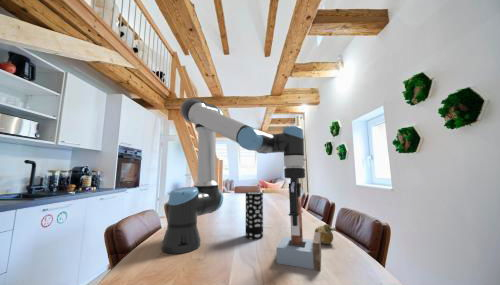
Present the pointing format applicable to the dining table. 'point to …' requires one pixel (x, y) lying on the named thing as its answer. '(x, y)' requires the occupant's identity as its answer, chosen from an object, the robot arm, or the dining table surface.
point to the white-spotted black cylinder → (254, 215)
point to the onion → (325, 233)
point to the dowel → (294, 238)
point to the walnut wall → (317, 251)
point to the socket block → (295, 253)
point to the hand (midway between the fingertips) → (296, 232)
